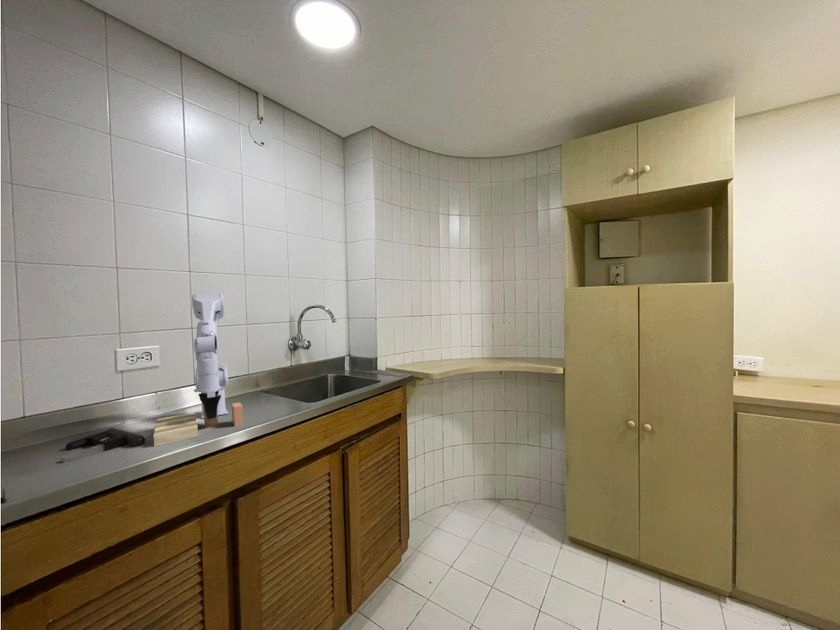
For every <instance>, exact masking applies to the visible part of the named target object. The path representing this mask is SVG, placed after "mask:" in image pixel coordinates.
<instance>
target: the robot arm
mask: <svg viewBox="0 0 840 630" xmlns="http://www.w3.org/2000/svg"><path fill="white" fill-rule="evenodd" d="M191 302H192V303H191V304H192V309H193V313H194V314H193V315H194V316H195V319H197V320H200V321H198V323H197V325H196V338H193V339H194V340H193V351H194V352H193V353H194V355H195V362H196V369H195V375H194V376H195V377H194V379H195V380H194V381H195V388H194V389H193V392H194V393H198V396H199V399H200V402H201V411H200V412H199V414H200V417H201V419H204V408H205V411H206V415H207V418H208V419H212V418H216V413H217V415H218V416H223V415H224V416H225V415H227V414H229V411H228V409H226V394H225V392H226V391H225V388H226V387H228V385H229V373H228V372H229V371H228V367H227V365H226V364H225V363H223V362H222V361H220V360H219V351H220V350H219V349H220V343H219V342H220V341H219V337H218V323H219V321H220V319H222V318H224V316H225V298H224V294H223V293H222V292H221V293H198V294H197V293H194V294H193V295H192V296H191Z"/></svg>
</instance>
